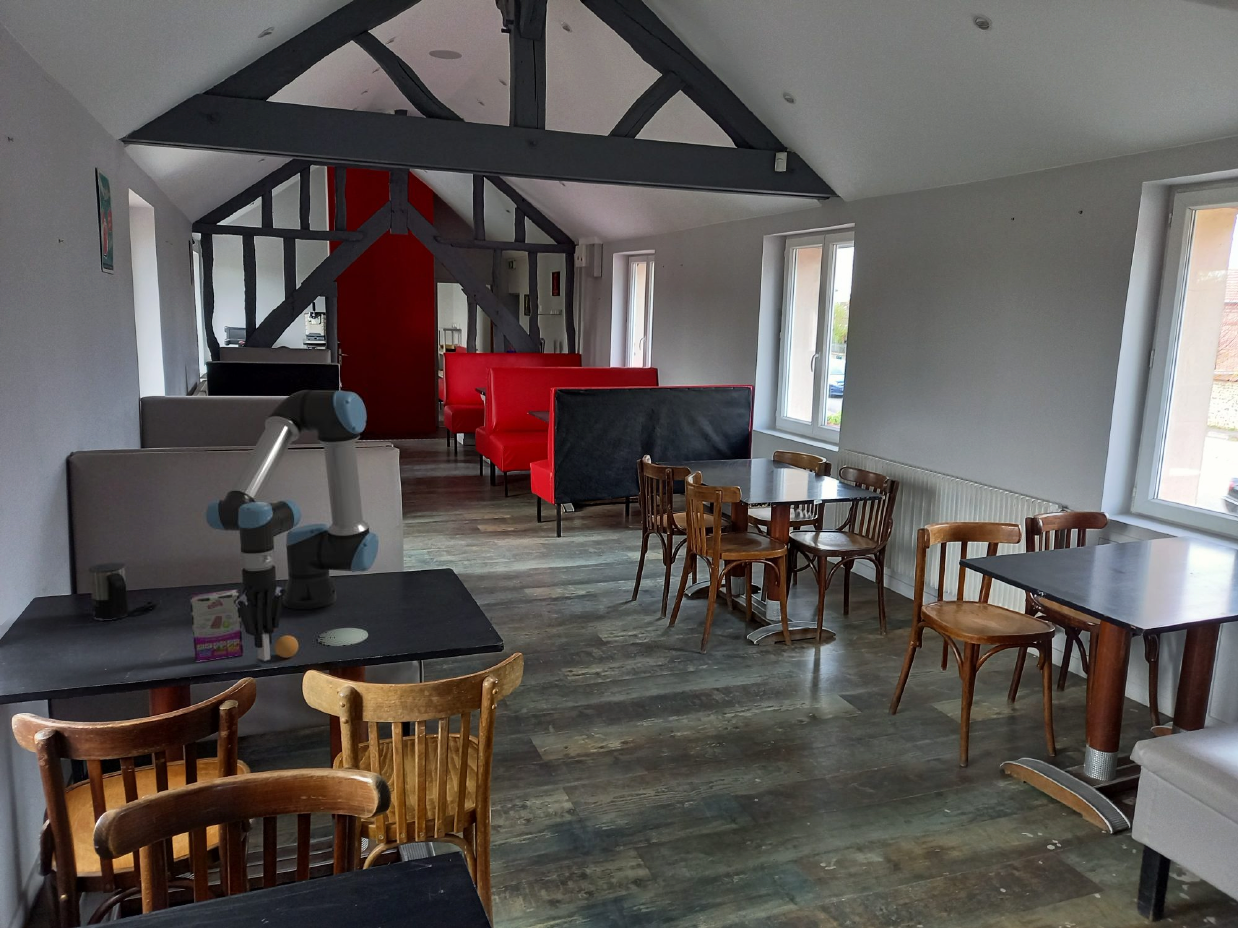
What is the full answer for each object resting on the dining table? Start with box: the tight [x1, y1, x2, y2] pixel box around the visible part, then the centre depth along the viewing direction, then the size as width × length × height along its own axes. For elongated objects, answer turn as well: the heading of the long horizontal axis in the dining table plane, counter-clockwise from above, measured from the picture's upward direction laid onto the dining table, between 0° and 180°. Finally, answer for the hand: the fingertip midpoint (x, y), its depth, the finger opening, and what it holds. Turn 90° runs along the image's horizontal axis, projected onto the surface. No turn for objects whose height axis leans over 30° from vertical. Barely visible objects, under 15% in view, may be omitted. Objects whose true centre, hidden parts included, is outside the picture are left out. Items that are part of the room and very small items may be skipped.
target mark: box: [317, 627, 369, 647], centre depth 234 cm, size 13×13×1 cm
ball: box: [274, 634, 299, 659], centre depth 220 cm, size 6×6×6 cm
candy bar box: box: [189, 589, 244, 661], centre depth 219 cm, size 11×5×16 cm, turn 117°
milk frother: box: [87, 562, 162, 619], centre depth 249 cm, size 14×16×15 cm
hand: (264, 658), depth 215 cm, fingers closed
